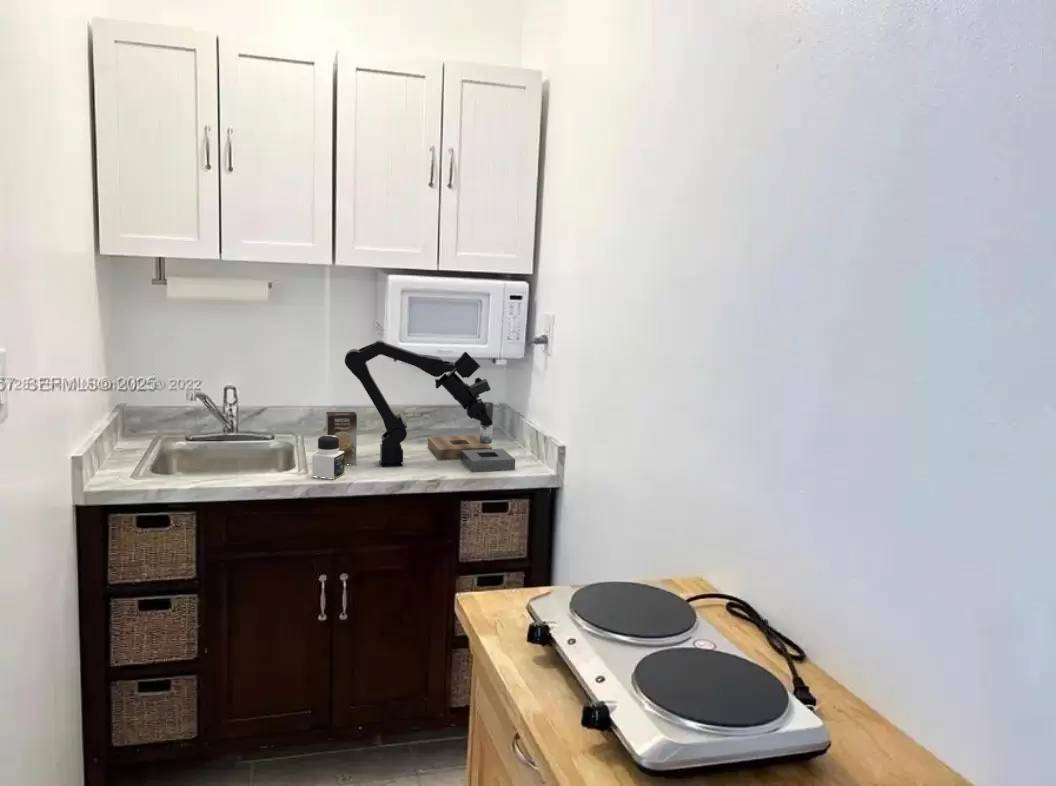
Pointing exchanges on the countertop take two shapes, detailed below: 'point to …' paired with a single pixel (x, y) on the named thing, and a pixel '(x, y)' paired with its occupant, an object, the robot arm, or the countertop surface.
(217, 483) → the countertop surface
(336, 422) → the coffee box
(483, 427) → the dark rounded cylinder
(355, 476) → the countertop surface
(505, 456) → the socket block
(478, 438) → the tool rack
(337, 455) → the medicine bottle
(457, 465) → the countertop surface
